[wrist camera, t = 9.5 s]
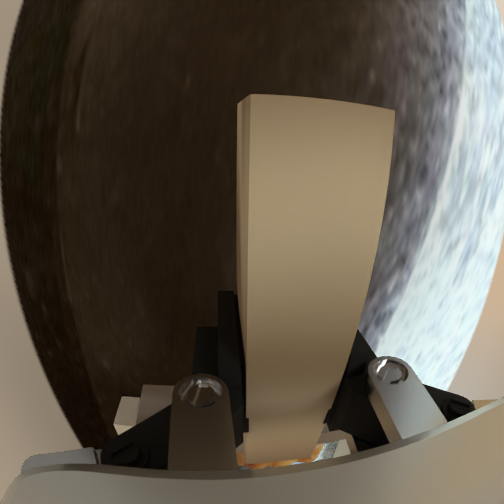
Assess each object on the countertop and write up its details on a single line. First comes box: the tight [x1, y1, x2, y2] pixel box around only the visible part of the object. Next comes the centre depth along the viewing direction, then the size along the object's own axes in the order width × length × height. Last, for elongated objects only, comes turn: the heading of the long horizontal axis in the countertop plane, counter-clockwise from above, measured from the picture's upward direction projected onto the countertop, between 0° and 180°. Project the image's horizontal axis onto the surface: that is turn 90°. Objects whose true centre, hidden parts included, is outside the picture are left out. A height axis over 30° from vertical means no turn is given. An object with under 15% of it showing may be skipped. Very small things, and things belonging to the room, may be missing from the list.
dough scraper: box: [136, 94, 395, 464], centre depth 8 cm, size 12×11×4 cm
